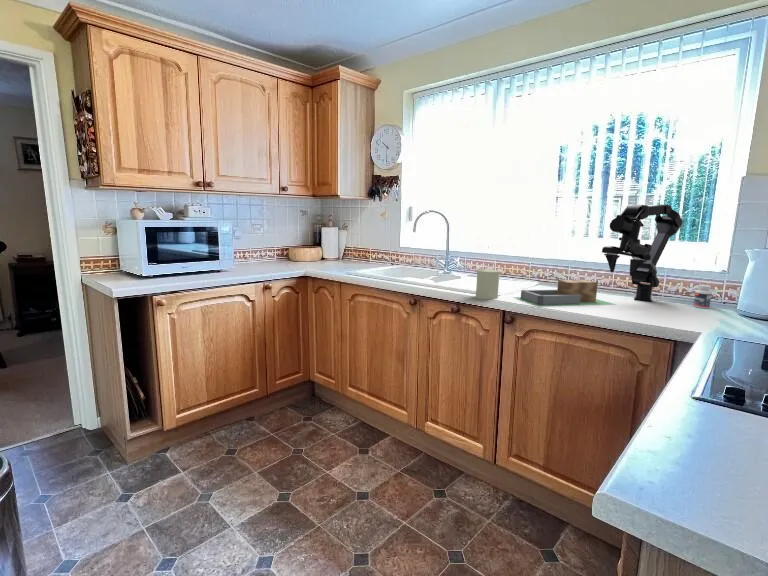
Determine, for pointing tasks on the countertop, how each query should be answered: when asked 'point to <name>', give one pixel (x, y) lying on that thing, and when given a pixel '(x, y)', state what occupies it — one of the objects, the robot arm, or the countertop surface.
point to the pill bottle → (702, 296)
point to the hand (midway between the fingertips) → (621, 274)
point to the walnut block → (578, 289)
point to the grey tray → (548, 297)
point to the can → (487, 284)
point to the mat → (598, 302)
